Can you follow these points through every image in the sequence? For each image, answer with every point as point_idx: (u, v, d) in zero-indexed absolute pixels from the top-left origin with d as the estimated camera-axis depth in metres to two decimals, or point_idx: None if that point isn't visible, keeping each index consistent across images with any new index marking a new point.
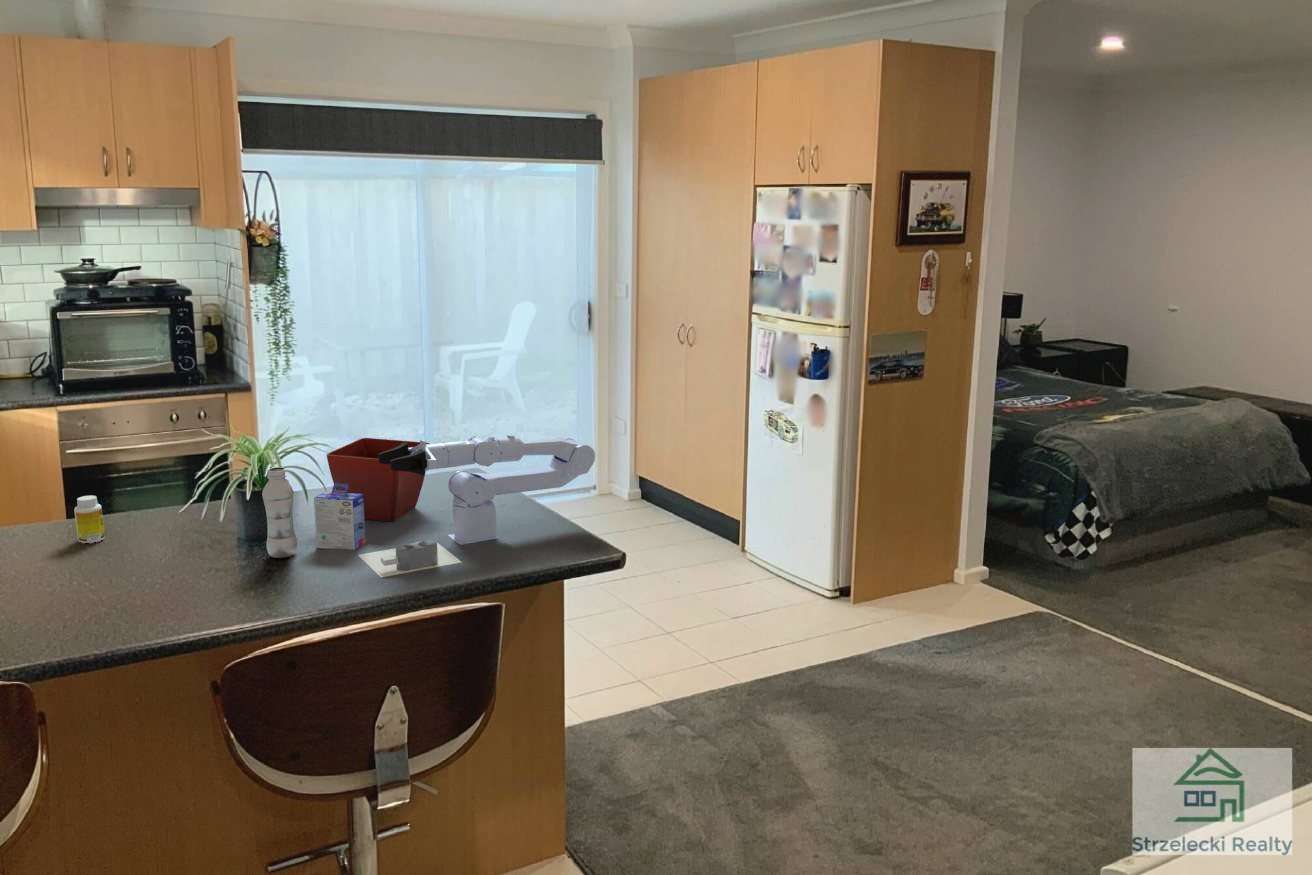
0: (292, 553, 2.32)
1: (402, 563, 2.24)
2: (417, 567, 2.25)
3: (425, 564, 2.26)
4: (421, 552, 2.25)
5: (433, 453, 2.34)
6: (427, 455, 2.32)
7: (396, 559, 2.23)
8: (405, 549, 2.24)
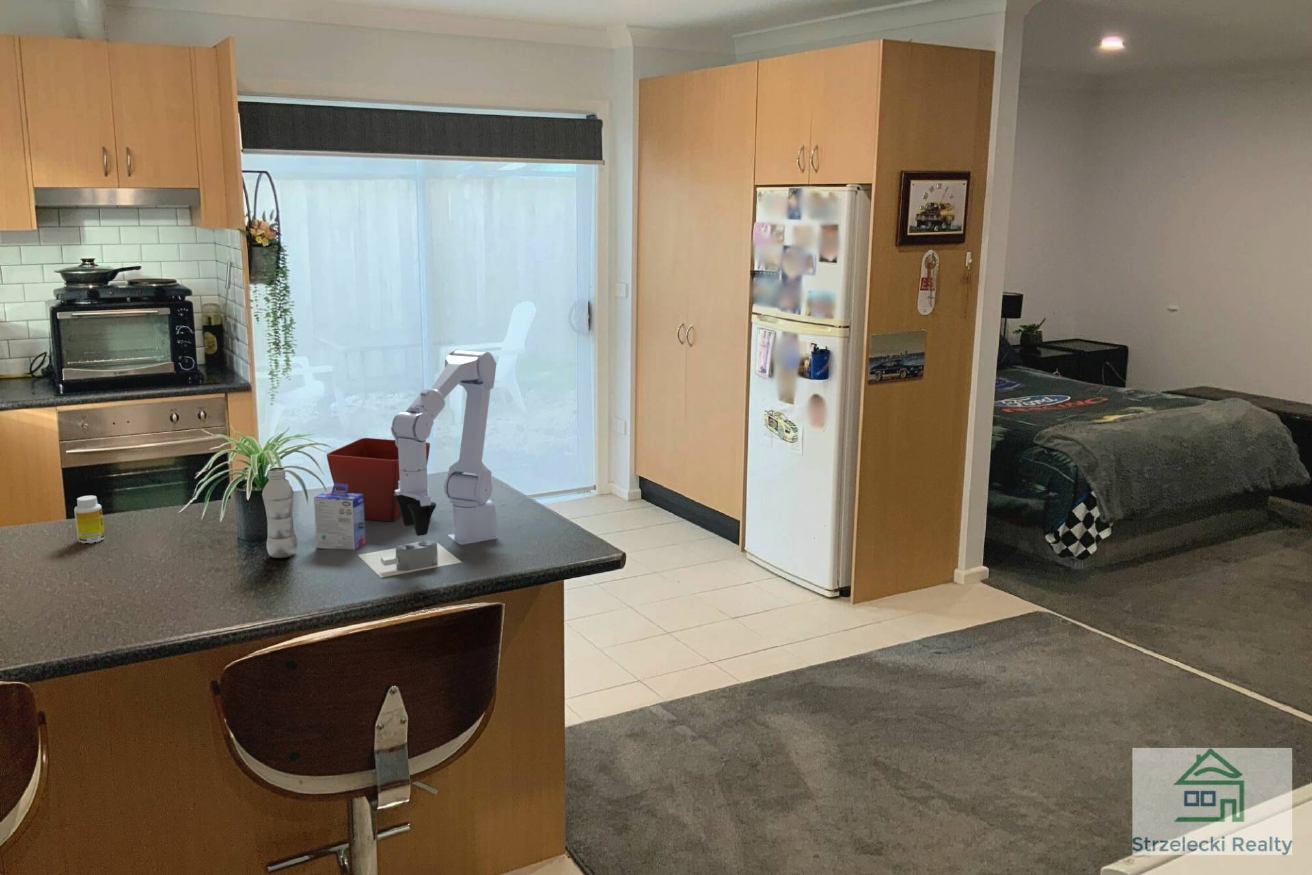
0: (292, 553, 2.32)
1: (402, 563, 2.24)
2: (417, 567, 2.25)
3: (425, 564, 2.26)
4: (421, 552, 2.25)
5: (412, 487, 2.20)
6: None
7: (396, 559, 2.23)
8: (405, 549, 2.24)
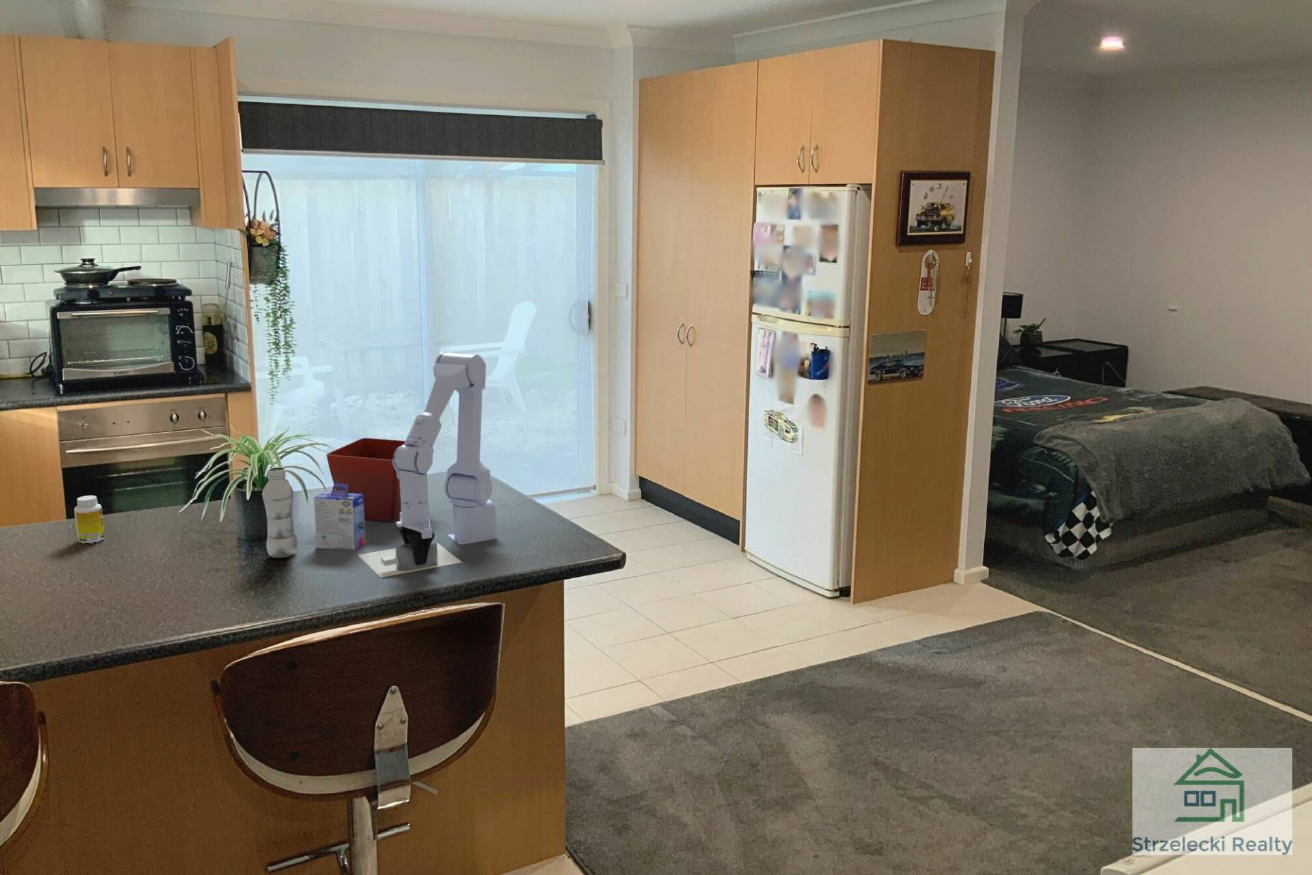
0: (292, 553, 2.32)
1: (402, 563, 2.24)
2: (417, 567, 2.25)
3: (425, 564, 2.26)
4: None
5: (413, 519, 2.22)
6: None
7: (396, 559, 2.23)
8: (405, 549, 2.24)
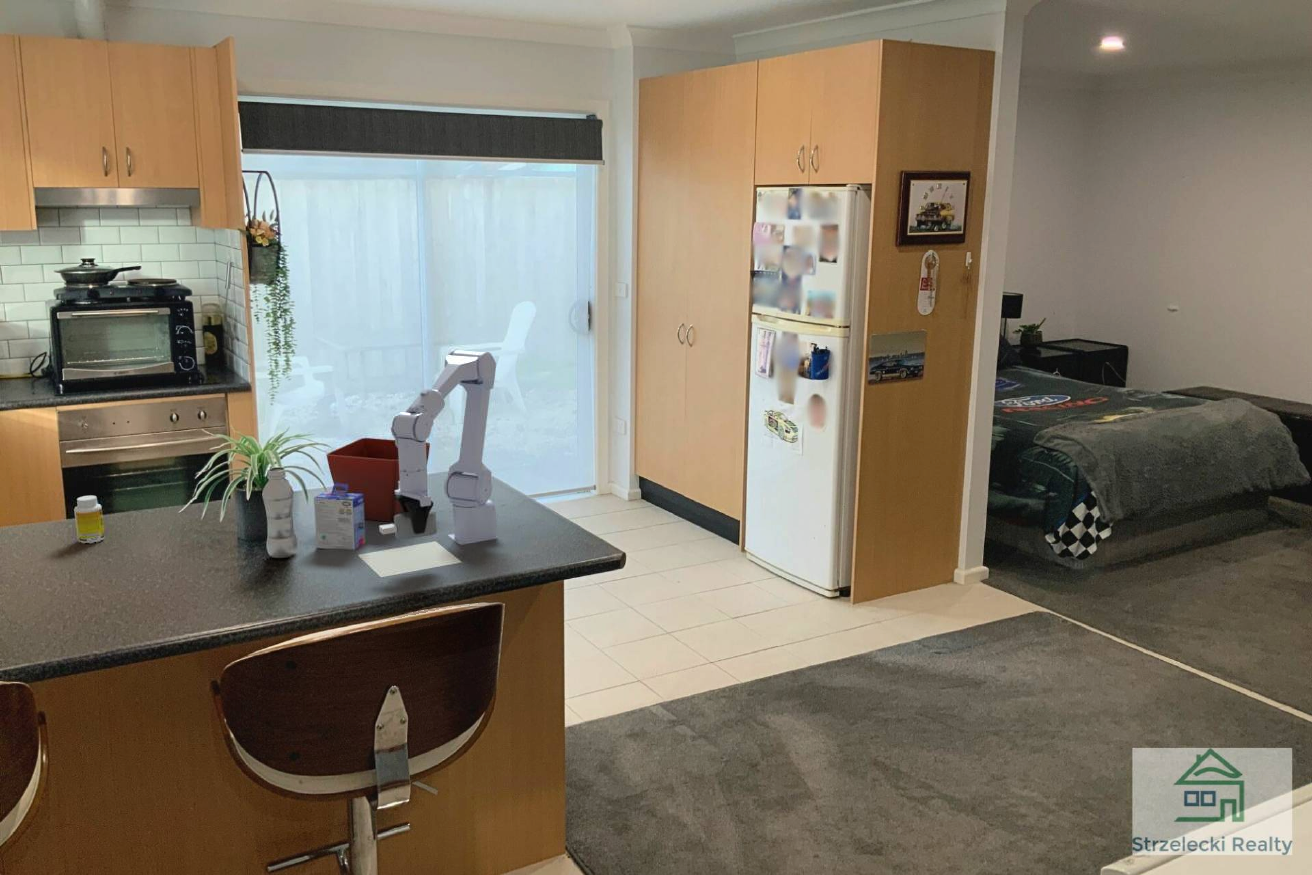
0: (292, 553, 2.32)
1: (401, 532, 2.22)
2: (416, 536, 2.24)
3: (424, 533, 2.25)
4: None
5: (412, 487, 2.20)
6: None
7: (394, 528, 2.22)
8: (404, 518, 2.22)
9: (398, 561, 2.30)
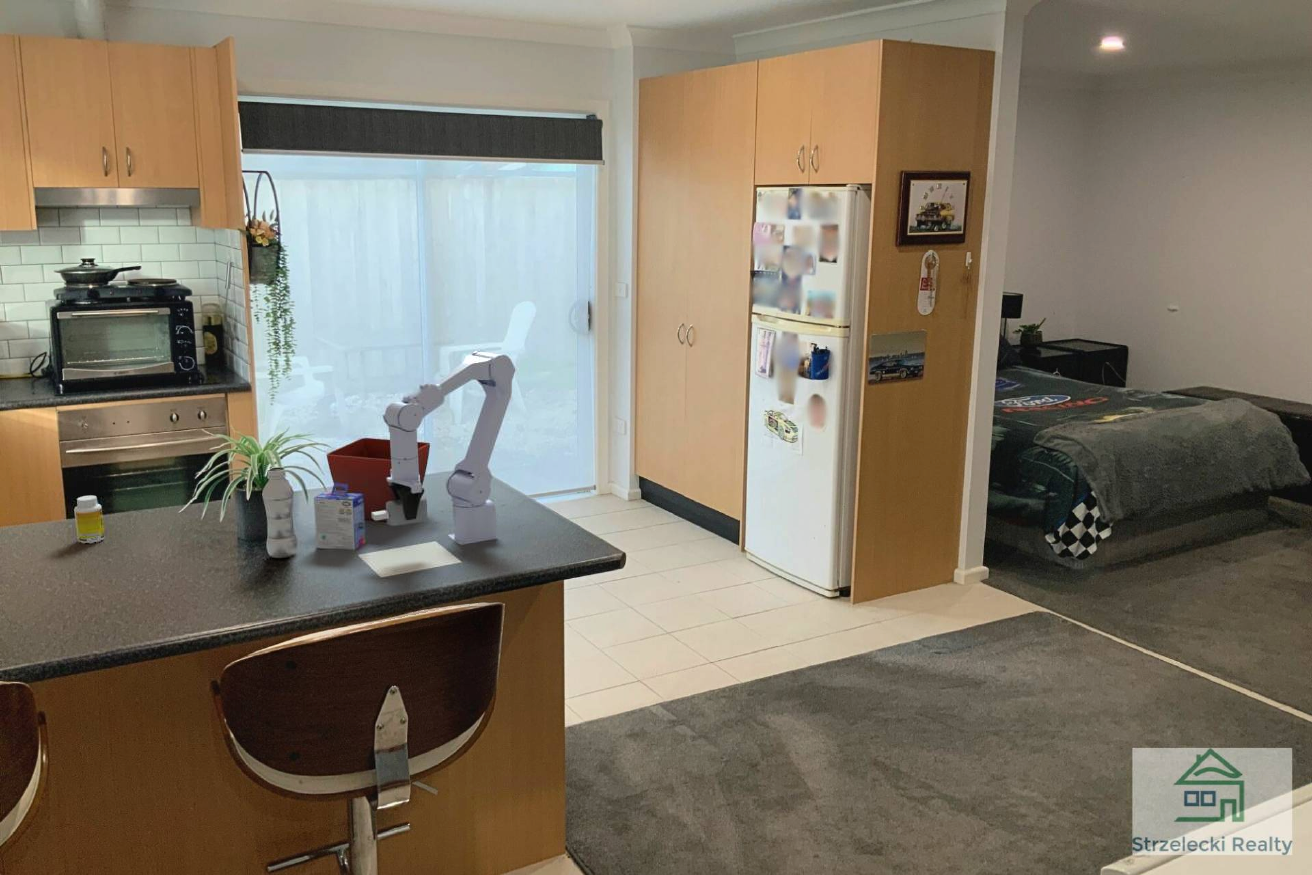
0: (292, 553, 2.32)
1: (393, 518, 2.29)
2: (407, 522, 2.31)
3: (415, 519, 2.31)
4: None
5: (403, 475, 2.27)
6: None
7: (386, 514, 2.28)
8: (395, 504, 2.29)
9: (398, 561, 2.30)
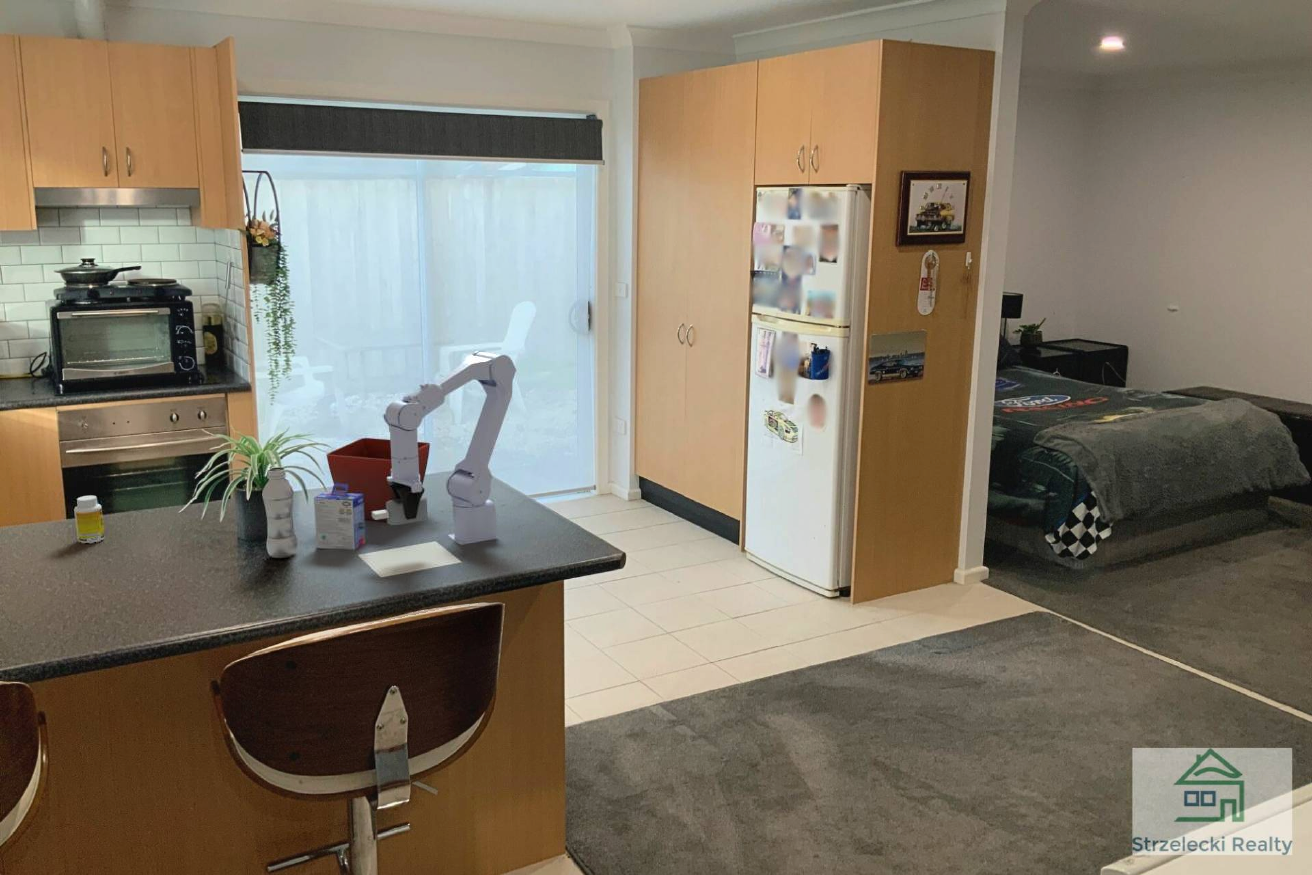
0: (292, 553, 2.32)
1: (393, 518, 2.29)
2: (407, 521, 2.31)
3: (415, 519, 2.31)
4: None
5: (403, 474, 2.27)
6: None
7: (387, 513, 2.29)
8: (395, 504, 2.29)
9: (398, 561, 2.30)
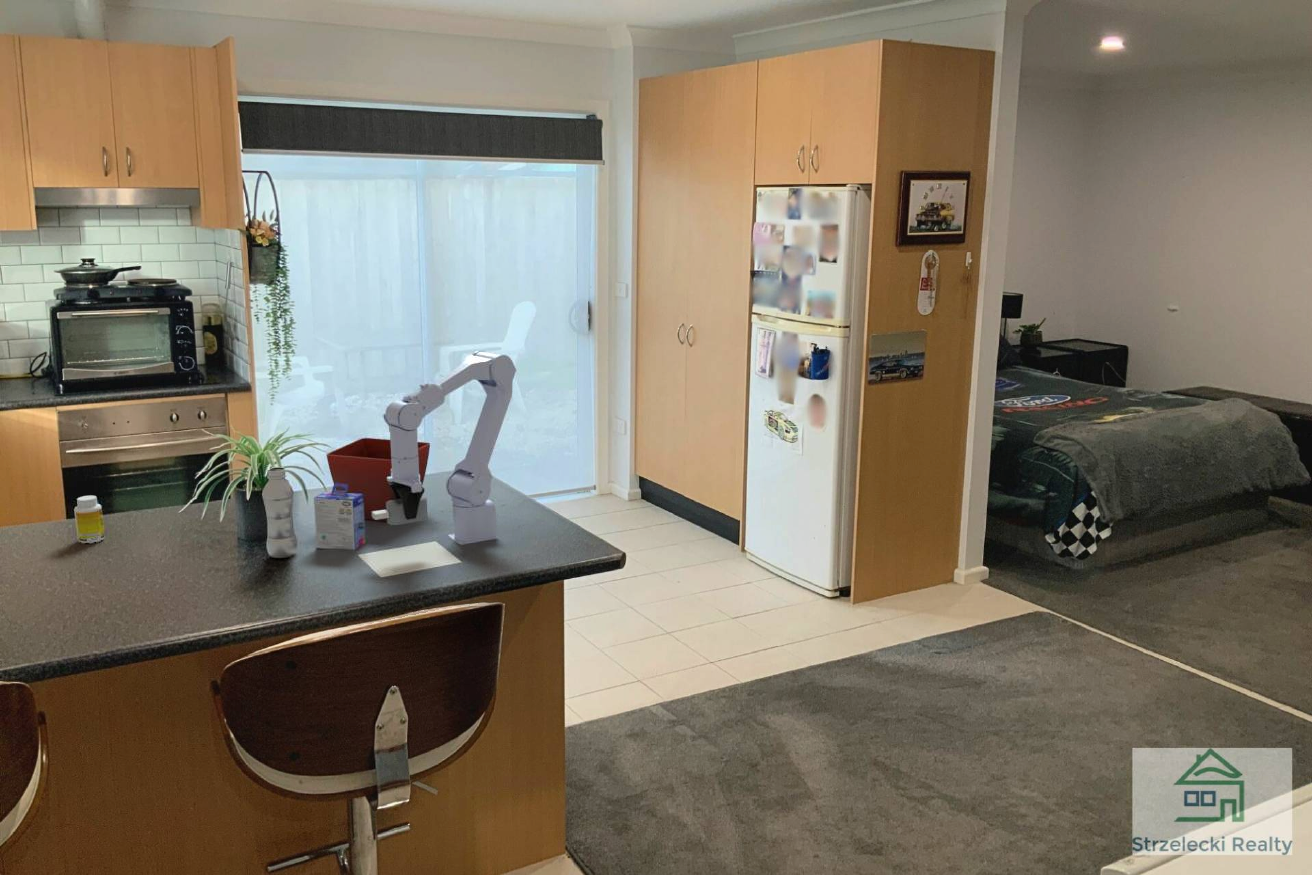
0: (292, 553, 2.32)
1: (393, 518, 2.29)
2: (407, 521, 2.31)
3: (415, 519, 2.31)
4: None
5: (403, 474, 2.27)
6: None
7: (387, 513, 2.29)
8: (395, 504, 2.29)
9: (398, 561, 2.30)
